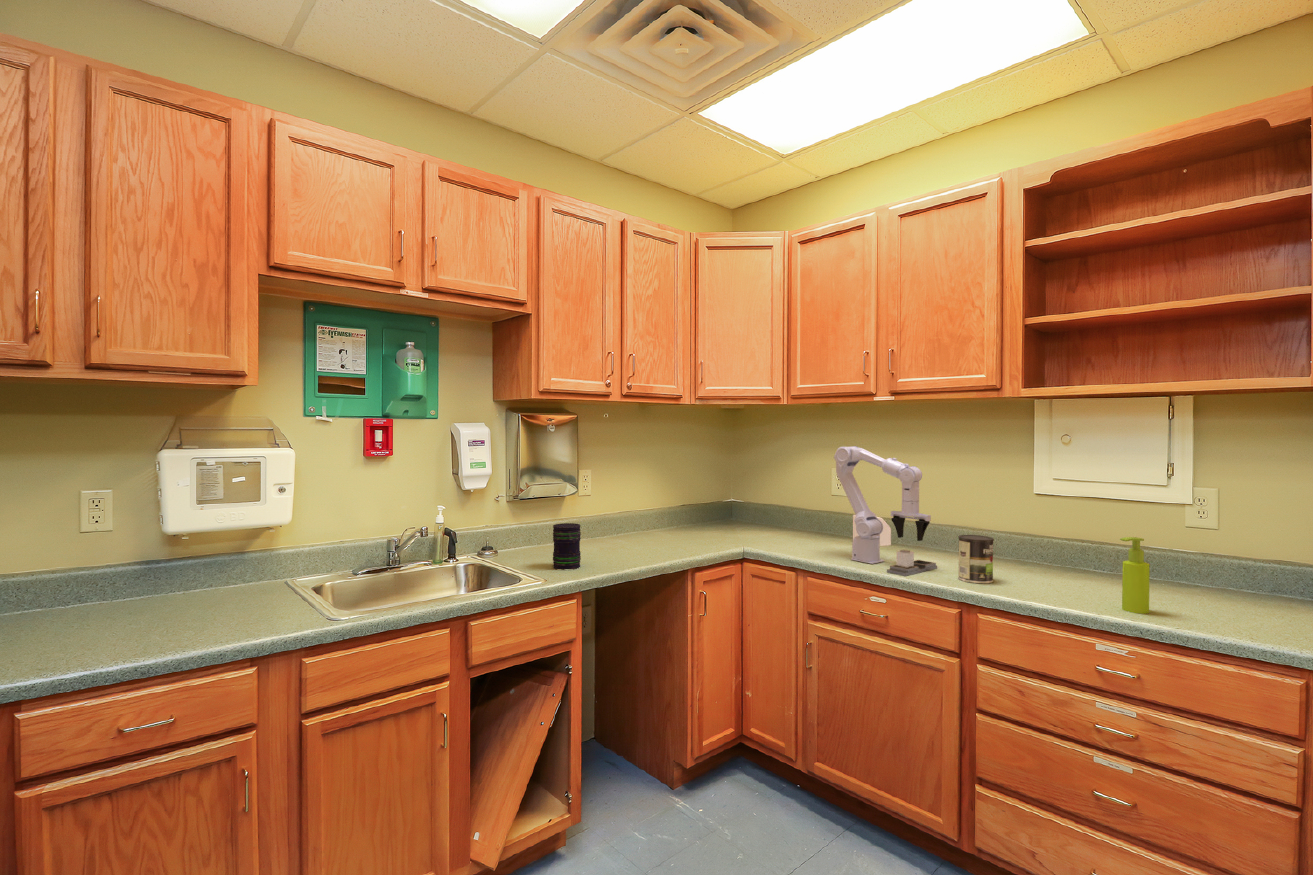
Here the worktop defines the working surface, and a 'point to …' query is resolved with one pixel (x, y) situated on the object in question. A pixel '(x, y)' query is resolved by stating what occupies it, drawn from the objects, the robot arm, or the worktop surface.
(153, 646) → the worktop surface
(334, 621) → the worktop surface
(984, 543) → the coffee can
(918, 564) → the rail
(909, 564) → the block
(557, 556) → the storage jar
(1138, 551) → the soap dispenser
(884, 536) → the corner bracket
